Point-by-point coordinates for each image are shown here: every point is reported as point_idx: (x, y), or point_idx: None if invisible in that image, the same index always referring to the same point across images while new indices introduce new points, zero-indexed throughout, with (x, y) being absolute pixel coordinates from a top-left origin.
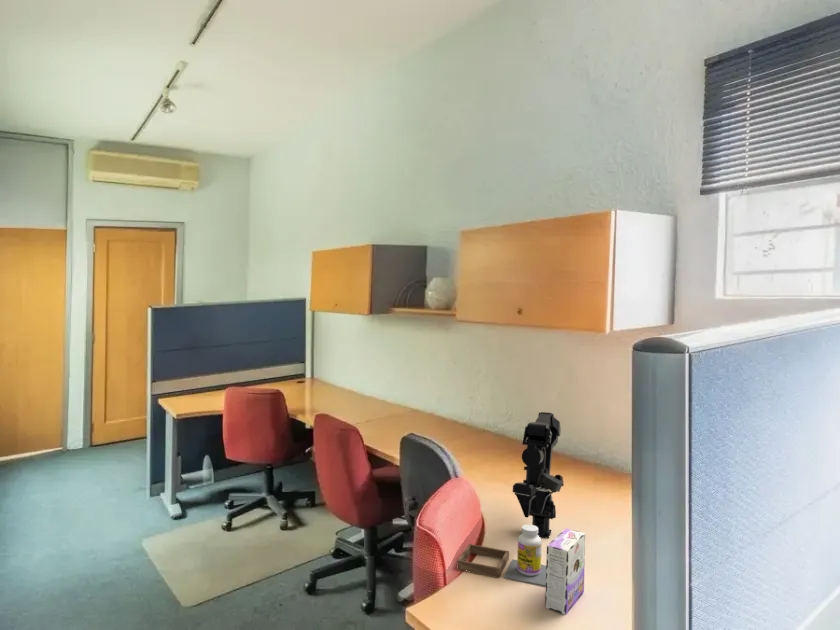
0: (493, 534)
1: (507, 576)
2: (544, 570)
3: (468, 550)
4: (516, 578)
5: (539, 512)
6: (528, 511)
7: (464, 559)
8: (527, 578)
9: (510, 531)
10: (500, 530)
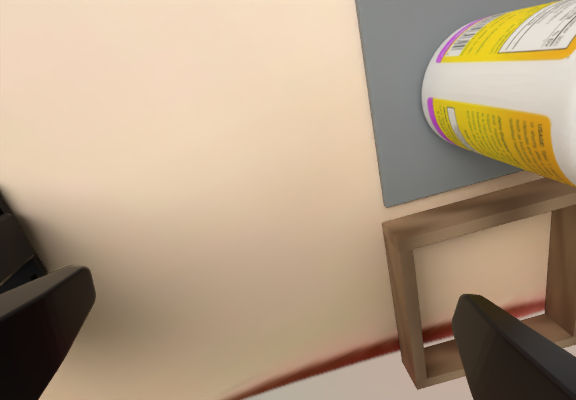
0: (184, 384)
1: None
2: (424, 15)
3: (459, 362)
4: None
5: (83, 294)
6: (563, 350)
7: None
8: None
9: (90, 356)
10: (119, 387)
